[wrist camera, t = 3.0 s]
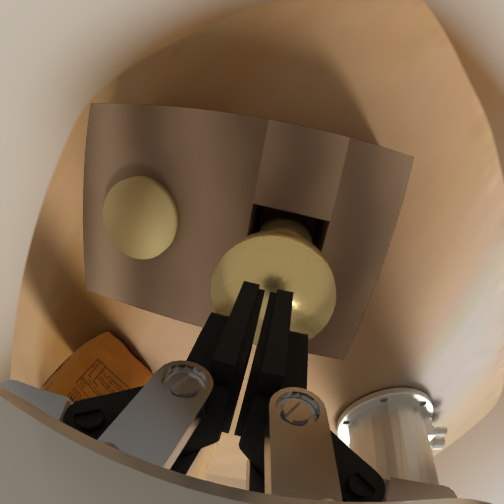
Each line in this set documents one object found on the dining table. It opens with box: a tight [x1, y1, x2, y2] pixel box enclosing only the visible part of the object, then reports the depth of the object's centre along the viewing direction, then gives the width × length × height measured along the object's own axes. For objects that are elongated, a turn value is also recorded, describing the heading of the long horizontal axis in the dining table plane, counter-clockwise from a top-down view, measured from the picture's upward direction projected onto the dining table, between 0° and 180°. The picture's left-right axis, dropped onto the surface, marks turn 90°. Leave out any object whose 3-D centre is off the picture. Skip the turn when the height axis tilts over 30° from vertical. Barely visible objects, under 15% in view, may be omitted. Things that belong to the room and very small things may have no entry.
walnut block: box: [83, 103, 414, 360], centre depth 22 cm, size 20×14×9 cm
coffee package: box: [40, 332, 153, 402], centre depth 26 cm, size 10×12×22 cm
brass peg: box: [211, 213, 336, 345], centre depth 16 cm, size 5×5×8 cm
